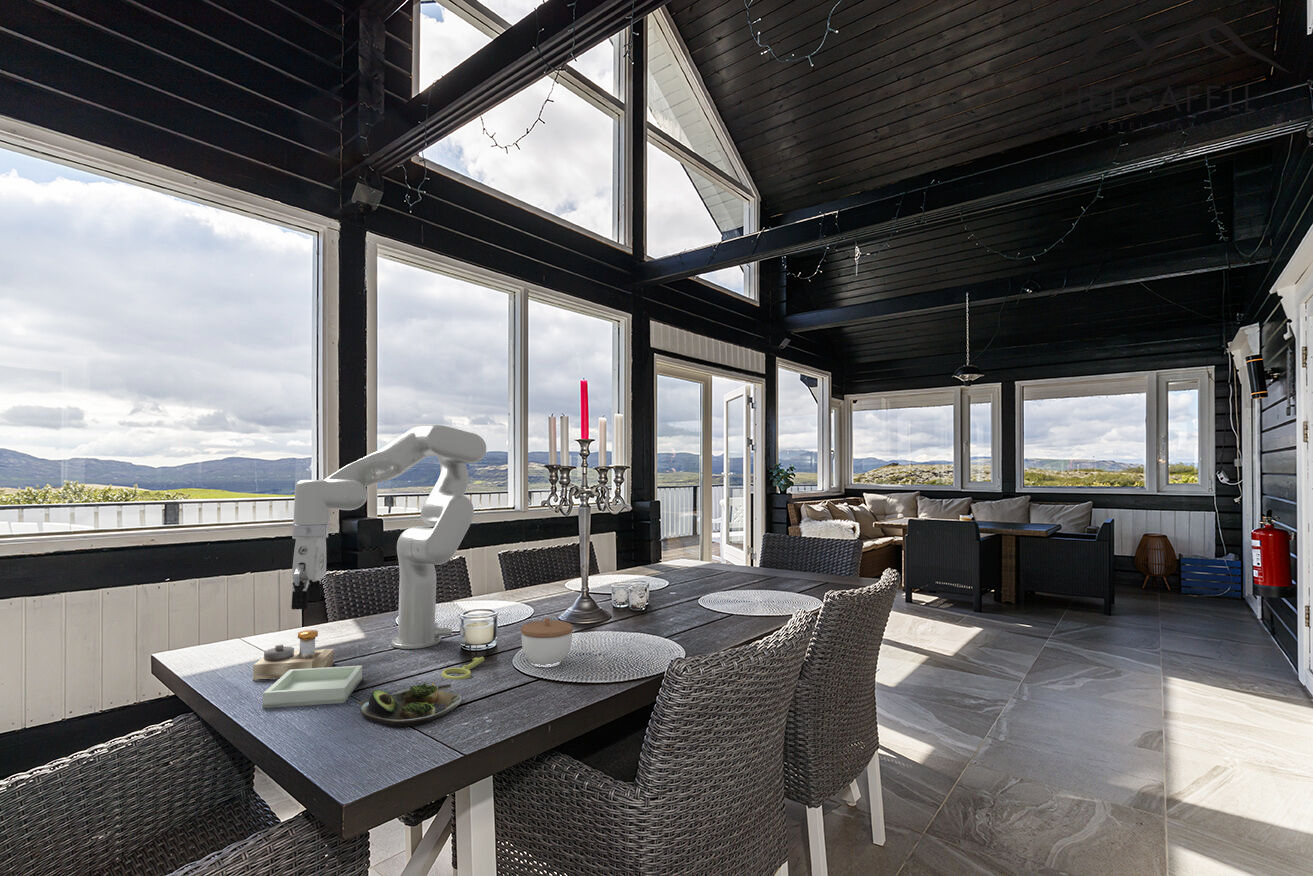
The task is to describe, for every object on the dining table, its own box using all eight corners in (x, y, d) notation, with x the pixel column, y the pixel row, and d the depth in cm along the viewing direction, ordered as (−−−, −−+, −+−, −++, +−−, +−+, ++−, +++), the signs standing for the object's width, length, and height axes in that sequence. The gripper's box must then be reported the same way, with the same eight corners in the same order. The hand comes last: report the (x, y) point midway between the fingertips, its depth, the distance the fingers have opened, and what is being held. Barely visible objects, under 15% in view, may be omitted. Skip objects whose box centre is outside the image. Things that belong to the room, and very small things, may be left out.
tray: (361, 678, 143) (362, 665, 143) (344, 702, 128) (344, 687, 128) (289, 683, 139) (289, 669, 140) (262, 708, 125) (263, 693, 125)
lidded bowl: (537, 675, 146) (538, 627, 147) (510, 662, 156) (511, 617, 156) (582, 664, 155) (582, 619, 155) (554, 653, 164) (555, 610, 165)
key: (485, 664, 155) (485, 656, 155) (467, 681, 143) (467, 672, 143) (456, 664, 155) (457, 655, 156) (436, 681, 143) (436, 671, 143)
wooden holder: (333, 663, 154) (334, 637, 154) (321, 676, 144) (321, 649, 144) (269, 666, 151) (270, 640, 151) (252, 680, 141) (254, 652, 141)
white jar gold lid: (319, 667, 150) (320, 629, 151) (313, 673, 146) (314, 634, 147) (299, 668, 150) (301, 630, 150) (293, 674, 145) (295, 635, 146)
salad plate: (423, 686, 139) (424, 665, 139) (483, 701, 131) (484, 678, 131) (343, 716, 122) (344, 692, 122) (407, 735, 114) (407, 709, 114)
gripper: (316, 535, 142) (312, 612, 141) (337, 529, 159) (333, 597, 157) (280, 534, 140) (275, 612, 139) (305, 529, 157) (301, 598, 156)
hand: (306, 604), depth 148 cm, fingers open, 9 cm apart
